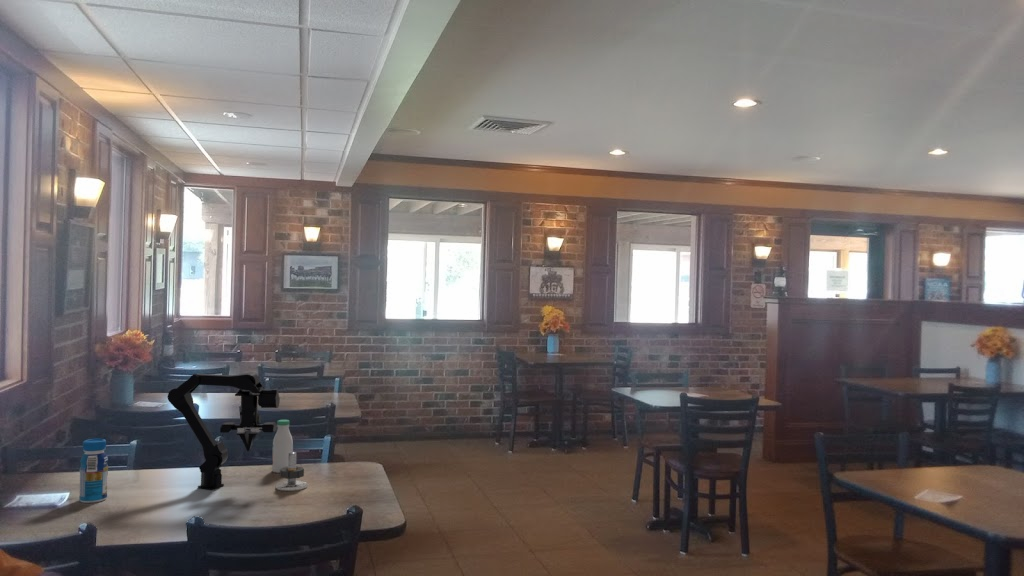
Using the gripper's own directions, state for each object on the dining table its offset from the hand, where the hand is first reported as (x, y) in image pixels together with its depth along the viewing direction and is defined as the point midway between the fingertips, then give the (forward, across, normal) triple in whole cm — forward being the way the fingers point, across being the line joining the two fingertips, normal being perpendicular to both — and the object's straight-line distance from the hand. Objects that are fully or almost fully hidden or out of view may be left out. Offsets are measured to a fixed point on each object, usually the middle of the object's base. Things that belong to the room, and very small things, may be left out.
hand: (248, 451), depth 269 cm
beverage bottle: (+13, +46, +17) cm, 51 cm away
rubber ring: (+9, -15, 0) cm, 18 cm away
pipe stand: (+13, -15, 0) cm, 20 cm away
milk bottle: (+13, -6, -24) cm, 28 cm away
